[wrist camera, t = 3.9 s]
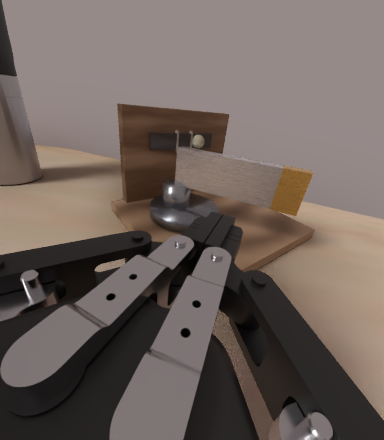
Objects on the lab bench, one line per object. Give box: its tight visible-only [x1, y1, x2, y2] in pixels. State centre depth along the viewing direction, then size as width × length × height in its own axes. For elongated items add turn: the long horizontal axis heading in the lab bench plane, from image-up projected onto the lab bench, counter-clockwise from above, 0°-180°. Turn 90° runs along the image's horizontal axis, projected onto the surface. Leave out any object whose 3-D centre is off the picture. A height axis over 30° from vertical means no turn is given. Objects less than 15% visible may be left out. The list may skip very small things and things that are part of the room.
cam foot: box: [150, 146, 313, 233], centre depth 28 cm, size 20×10×10 cm, turn 67°
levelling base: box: [111, 104, 315, 272], centre depth 30 cm, size 22×24×16 cm
